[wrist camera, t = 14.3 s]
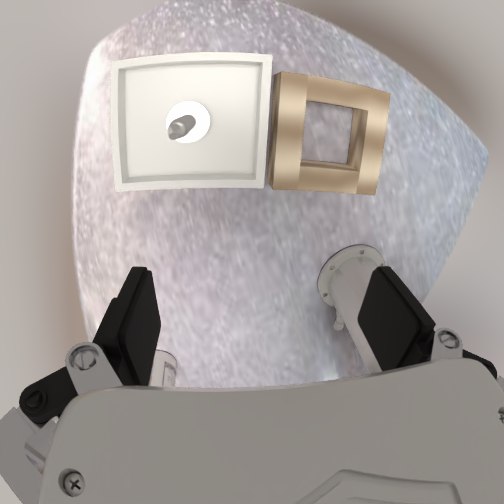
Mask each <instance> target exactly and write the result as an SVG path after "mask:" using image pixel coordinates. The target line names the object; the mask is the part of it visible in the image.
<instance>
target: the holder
mask: <svg viewBox="0 0 504 504" xmlns="http://www.w3.org/2000/svg"><path fill="white" fill-rule="evenodd" d="M306 101H312V102H319V103H326V104H332V105H338V106H344V107H349V108H354V111H353V121H352V129H351V138H350V145H349V153H348V160H347V164H342V163H332V162H321V161H309V160H301V152H302V142H303V132H304V120H305V109H306ZM389 102H390V93H387V92H384V91H380V90H377V89H373V88H369V87H365V86H361V85H357V84H353V83H348V82H344V81H339V80H334V79H329V78H323V77H317V76H311V75H304V74H297V73H289V72H280V73H277V74H275V75H274V88H273V104H272V119H271V134H270V148H269V162H268V176H267V181H268V182H269V184H270V186H271V187H272V189H273V190H298V191H320V192H337V193H352V194H365V195H375V193H376V188H377V183H378V178H379V172H380V167H381V161H382V155H383V149H384V142H385V135H386V128H387V120H388V111H389Z"/></svg>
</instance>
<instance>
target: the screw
mask: <svg viewBox="0 0 504 504" xmlns="http://www.w3.org/2000/svg"><path fill="white" fill-rule="evenodd" d="M209 123H210V118H209V114H208V112H207V110H206V109H205V108H204V107H203V106H202V105H200V104H199V103H196V102H191V101H190V102H182V103H180V104H178V105H176V106H175V107H174V108H173V109H172V110H171V111H170V113H169V115H168V118H167V128H168V137H169V138H170V139H171V140H178V141H181V142H187V143H188V142H194V141H197V140H198V139H200V138H201V137H203V136H204V135H205V133H206V132H207V130H208V128H209Z"/></svg>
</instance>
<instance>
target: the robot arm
mask: <svg viewBox="0 0 504 504" xmlns="http://www.w3.org/2000/svg"><path fill="white" fill-rule="evenodd" d="M318 291H319V293H320V296H321V298H322V299H323V301H324V302H325V303H326V304H328V305H330V306H332V307H335V308H336V310H337V311H336V315H337V318H336V319H335V322H334V325H333V327H334V329H336V330H338V331H339V330H342V329H343V327H344V324H345V325H346V327H347V329H348V331H349V333H350V335H351V337H352V339H353V341H354V343H355V345H356V347H357V349H358V351H359V354H360V356H361V358H362V360H363V362H364V364H365V366H366V368H367V370H368V371H369V372H370V373H371V374H367V375H361V376H355V377H349V378H343V379H336V380H328V381H321V382H312V383H303V384H292V385H280V386H264V387H240V388H190V387H163V386H149V381H150V376H151V371H152V366H153V361H154V356H155V351H156V347H157V342H158V338H159V333H160V329H161V320H160V315H159V310H158V305H157V300H156V294H155V288H154V283H153V277H152V272H151V271H149V270H147V268H146V267H132V268H131V270H130V272H129V274H128V276H127V278H126V280H125V282H124V284H123V286H122V288H121V290H120V293H119V295H118V297H117V298H113V299H112V301H111V302H110V304H109V307H108V309H107V311H106V313H105V315H104V317H103V319H102V322H101V324H100V326H99V328H98V331H97V333H96V335H95V337H94V340H93V342H92V343H91V342H83V343H80V344H77V345H76V346H74V347H72V348H71V349H70V350H69V351H68V353H67V355H66V359H65V362H66V366H65V367H63V368H61V369H60V370H58V371H56V372H54V373H52V374H50V375H48V376H47V377H45V378H43V379H41V380H39V381H37V382H35V383H33V384H31V385H30V386H28V387H26V388H25V389H24V390H23V392H22V393H21V396H20V400H19V404H20V406H19V407H18V408H17V409H16V408H15V407H13V408H12V409H11V410H10V411H9V412H8V413H7V414H6V415H5V416H4V417H3V418H2V419H1V420H0V474H1V476H2V477H3V478H4V480H5V481H6V483H7V484H8V485H9V487H10V488H11V489H12V491H13V492H14V493H15V495H16V496H17V497H18V498H19V500H20V501H21V502H22V503H23V504H504V379H503V378H502V377H501V376H499V377H498V378H497V371H496V369H495V367H494V365H493V364H492V363H491V362H490V361H488V360H486V359H484V358H481V357H479V356H477V355H475V354H472V353H470V352H468V351H466V350H464V349H462V346H463V345H462V340H461V338H460V337H459V335H458V334H457V333H455V332H454V331H452V330H450V329H447V328H440V329H438V330H436V332H435V331H434V326H435V325H436V324H435V322H434V321H433V320H432V318H431V317H430V316H429V314H428V313H427V312H426V311H425V309H424V308H423V306H422V305H421V304H420V303H419V301H418V300H417V299H416V298H415V296H414V295H413V294H412V293H411V291H410V290H409V289H408V288H407V286H406V285H405V284H404V283H403V282H402V280H401V279H400V278H399V277H398V276H397V274H396V273H395V272H394V271H393V270H392V269H391V267H389V266H385V262H384V259H383V257H382V256H381V255H380V253H379V252H378V251H377V250H376V249H374V248H372V247H369V246H366V245H357V246H352V247H349V248H346V249H344V250H342V251H340V252H338V253H337V254H336V255H334V256H333V257H332V258H331V259H330V260H329V261H328V262H327V263H326V264H325V266H324V267H323V269H322V271H321V273H320V275H319V278H318Z"/></svg>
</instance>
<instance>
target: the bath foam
mask: <svg viewBox="0 0 504 504" xmlns="http://www.w3.org/2000/svg"><path fill="white" fill-rule="evenodd" d="M175 377H176V360H175V359H174V357H173V356H172V355H170V354H168V353H166V352H163V351H155V356H154V361H153V366H152V371H151V376H150V381H149V386H163V387H175Z"/></svg>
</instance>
